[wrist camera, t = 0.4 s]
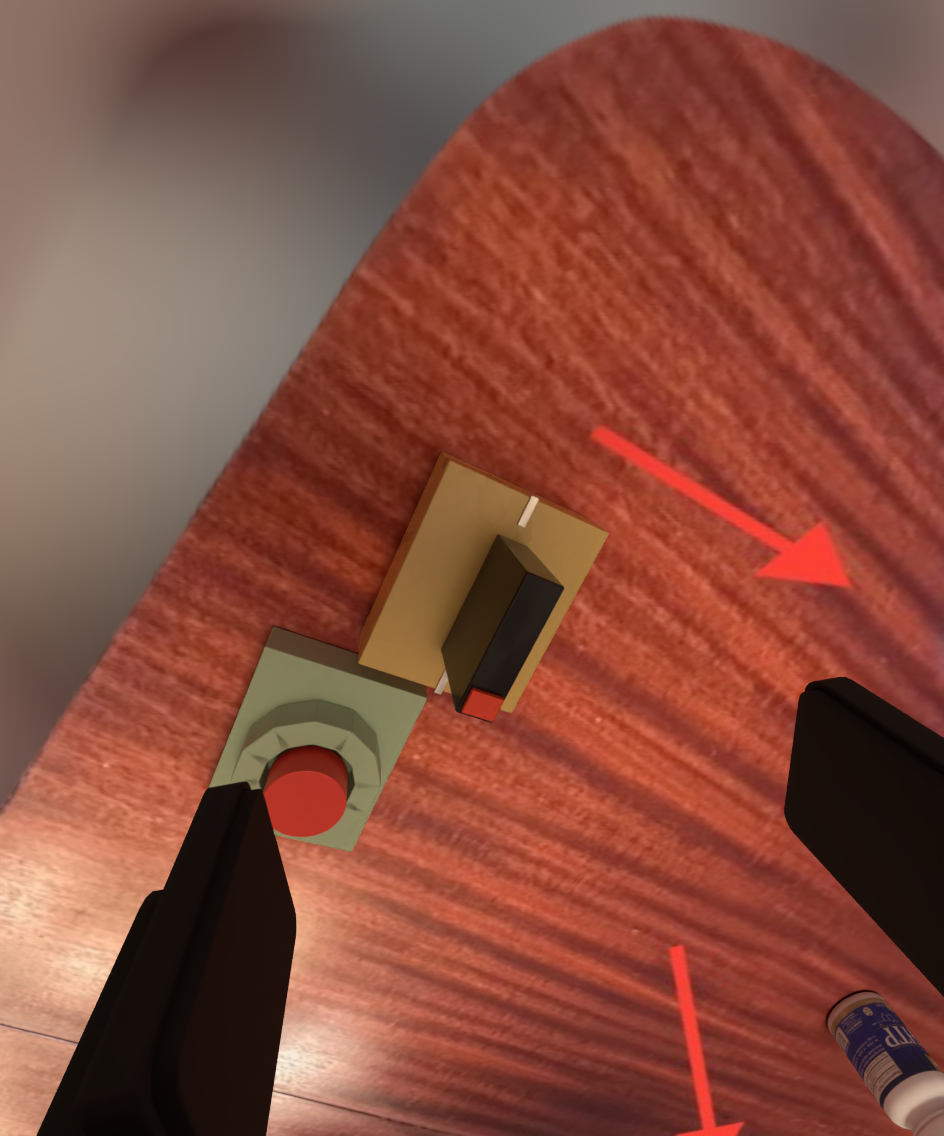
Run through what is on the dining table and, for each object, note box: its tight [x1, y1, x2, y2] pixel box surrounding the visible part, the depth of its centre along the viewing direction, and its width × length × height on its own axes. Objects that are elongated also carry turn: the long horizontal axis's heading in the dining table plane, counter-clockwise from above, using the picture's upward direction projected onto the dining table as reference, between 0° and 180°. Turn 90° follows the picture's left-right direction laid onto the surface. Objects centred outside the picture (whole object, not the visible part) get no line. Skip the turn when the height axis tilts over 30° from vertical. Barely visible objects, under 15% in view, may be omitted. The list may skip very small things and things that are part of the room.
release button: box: [263, 746, 348, 837], centre depth 25 cm, size 4×4×2 cm
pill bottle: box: [828, 992, 944, 1136], centre depth 42 cm, size 5×5×9 cm
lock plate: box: [358, 452, 609, 713], centre depth 26 cm, size 10×8×3 cm
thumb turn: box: [441, 534, 564, 723], centre depth 22 cm, size 6×2×5 cm, turn 154°
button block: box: [208, 627, 427, 852], centre depth 27 cm, size 10×8×4 cm
